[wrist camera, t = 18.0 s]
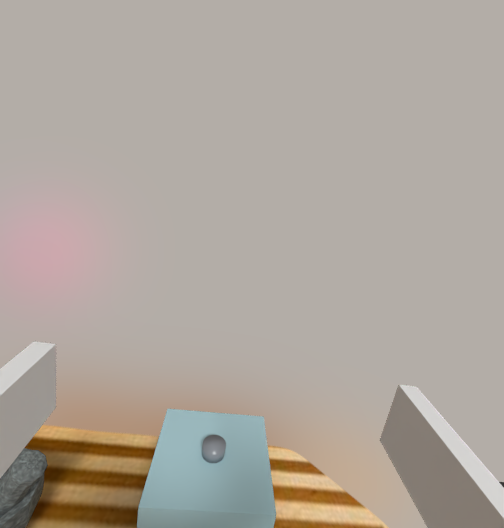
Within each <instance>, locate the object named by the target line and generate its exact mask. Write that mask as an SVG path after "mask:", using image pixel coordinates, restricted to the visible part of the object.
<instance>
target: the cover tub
mask: <svg viewBox="0 0 504 528" xmlns="http://www.w3.org/2000/svg"><path fill="white" fill-rule="evenodd" d="M275 518H276V510H275V502H274V494H273V486H272V478H271V471H270V463H269V455H268V447H267V439H266V432H265V424H264V417H261V416H249V415H237V414H225V413H212V412H201V411H188V410H176V409H167V412H166V416H165V419H164V423H163V426H162V429H161V433H160V436H159V439H158V443H157V446H156V450H155V453H154V456H153V460H152V463H151V466H150V470H149V473H148V477H147V480H146V483H145V487H144V490H143V493H142V497H141V500H140V504H139V507H138V519H137V528H273V527H274V523H275Z"/></svg>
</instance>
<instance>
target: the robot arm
mask: <svg viewBox="0 0 504 528" xmlns="http://www.w3.org/2000/svg"><path fill="white" fill-rule="evenodd" d="M55 408H56V344H52V343H43V342H35V341H34V342H32V343H31V344H30V345H29V346H28V347H26V348H25V349H24V350H23V351H21V352H20V353H19V354H18V355H16V356H15V357H14V358H13V359H11V360H10V361H9V362H8V363H6V364H5V365H4V366H3V367H2V368H0V478H1V477H2V476H3V474H4V473H5V472H6V471H7V469H8V468H9V467H10V466H11V464H12V463H13V462H14V460H15V459H16V458H17V457H18V455H19V454H20V453H21V451H22V450H23V449H24V448H25V446H26V445H27V444H28V443H29V441H30V440H31V439H32V437H33V436H34V435H35V434H36V432H37V431H38V430H39V429H40V427H41V426H42V425H43V423H44V422H45V421H46V420H47V418H48V417H49V416H50V414H51V413H52V412H53V410H54V409H55ZM380 441H381V443H382V445H383V447H384V449H385V450H386V452H387V454H388V456H389V458H390V460H391V461H392V463H393V465H394V467H395V468H396V470H397V472H398V474H399V476H400V478H401V480H402V482H403V483H404V485H405V487H406V489H407V491H408V492H409V494H410V496H411V498H412V499H413V502H414V503H415V505H416V507H417V509H418V511H419V513H420V514H421V516H422V518H423V520H424V522H425V524H426V525H427V527H428V528H504V482H498V481H497V479H496V478H495V477H494V476H493V475H492V474H491V472H490V471H489V470H488V469H487V468H486V467H485V465H483V463H482V462H481V461H480V460H479V458H478V457H477V456H476V455H475V454H474V453H473V452H472V450H471V449H470V448H469V447H468V446H467V445H466V443H465V442H464V441H463V440H462V439H461V438H460V436H459V435H458V434H457V433H456V432H455V431H454V430H453V428H452V427H451V426H450V425H449V424H448V423H447V421H446V420H445V419H444V418H443V417H442V416H441V414H440V413H439V412H438V411H437V410H436V409H435V407H434V406H433V405H432V404H431V403H430V402H429V400H428V399H427V398H426V397H425V396H424V395H423V394H422V392H421V391H420V390H419V389H418V388H417V387H415V386H407V385H398V388H397V391H396V394H395V397H394V400H393V403H392V406H391V409H390V412H389V414H388V418H387V420H386V423H385V426H384V429H383V432H382V435H381V438H380Z"/></svg>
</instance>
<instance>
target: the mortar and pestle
mask: <svg viewBox="0 0 504 528" xmlns="http://www.w3.org/2000/svg"><path fill="white" fill-rule="evenodd" d="M46 468H47V461H46V456H45V455H44V454H43V453H41V452H40V451H38V450H29V449H25V448H24V449H23V450H22V451H21V453H20V454H19V455H18V457H17V458H16V459H15V460H14V462H13V463H12V464H11V466H10V467H9V468H8V469H7V471H6V472H5V473H4V474H3V476H2V477H1V478H0V528H25V527H26V526H27V525H28V522H29V520H30V518H31V516H32V514H33V512H34V509H35V507H36V505H37V503H38V501H39V499H40V496H41V494H42V490H43V485H44V472H45V470H46Z"/></svg>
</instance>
